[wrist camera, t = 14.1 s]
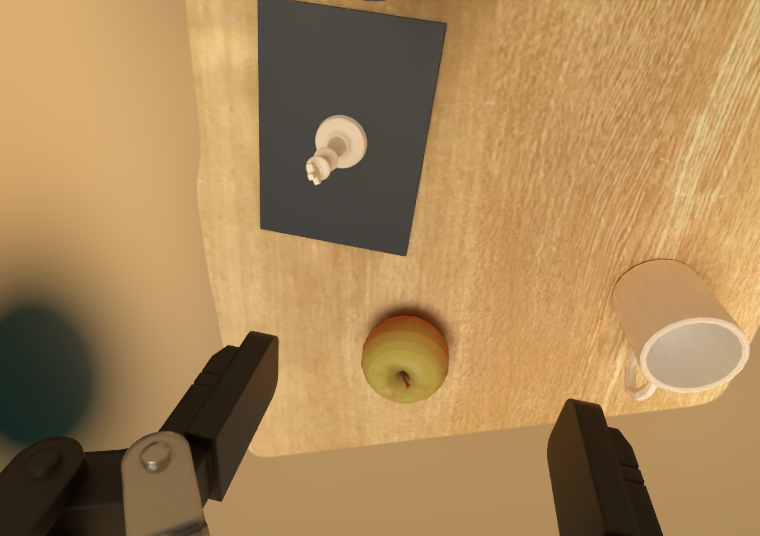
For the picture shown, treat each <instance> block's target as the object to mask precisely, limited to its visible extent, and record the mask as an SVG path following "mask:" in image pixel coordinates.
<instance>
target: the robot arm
mask: <svg viewBox="0 0 760 536" xmlns="http://www.w3.org/2000/svg"><path fill="white" fill-rule="evenodd" d="M278 346H279V341H278V337H277V336H274V335H269V334H265V333H260V332H255V331H250V332H249V333H248V335H247V336H246V338H245V339H244V341H243V342H242V344H241V345H240V347H235V346H230V345H228V346H226V347H225V348H223V349H222V350H220V351H219V352H217V353H216V354H214V355H213V356H212V357H211V358H210V360H209V361H208V363H207V364H206V366H205V367H204V368H203V370H202V373H200V374H199V375H198V377H197V378H196V380H195V381H194V384H193V385H191V387H190V388H189V390H188V391H187V392H186V394H185V395H184V396H183V398H182V399H181V401H180V402H179V404H178V405H177V406H176V408H175V409H174V410H173V412H172V413H171V415H170V416H169V418H168V419H167V420H166V422H165V423H164V425H163V426H162V427H161V428H160V430H159V431H158V432H155V433H152V434H149V435H146V436H144V437H142V438H140V439H139V440H137V441H136V442H135V443H133V444H132V445H131V446H130V447H129V448H127V449H121V450H110V451H96V452H83V449H82V446H81V445H80V443H79V442H77V441H76V440H74V439H72V438H69V437H52V438H47V439H43V440H41V441H38V442H36V443H34V444H32V445H30V446H29V447H27V448H25V449H24V450H22V451H21V452H20V453H18V455H16V457H14V459H13V460H12V461H11V462H10V463H9V464H8V465H7V466H6V467H5V469H4V470H3V471H2V472H1V473H0V536H210V534H209V529H208V526H207V523H206V521H205V517H204V513H203V508H204V505H205V504H206V502H207V500H208V499H212V500H216V501H220V502H221V501H222V500H223V498H224V496H225V494H226V491H227V489H228V487H229V485H230V483H231V481H232V479H233V477H234V475H235V473H236V471H237V469H238V467H239V465H240V463H241V461H242V459H243V457H244V455H245V453H246V451H247V449H248V447H249V445H250V443H251V441H252V438H253V436H254V434H255V432H256V430H257V428H258V426H259V424H260V422H261V420H262V418H263V416H264V414H265V412H266V410H267V408H268V406H269V404H270V402H271V400H272V398H273V395H274V392H275V389H276V386H277V381H278ZM547 458H548V459H547V460H548V466H549V472H550V478H551V484H552V491H553V497H554V503H555V509H556V515H557V521H558V528H559V534H560V536H663V534H662V531H661V528H660V525H659V522H658V520H657V517H656V514H655V511H654V508H653V505H652V503H651V500H650V497H649V494H648V491H647V488H646V486H644V480H643V477H642V474H641V471H640V470H639V469H638V467H639V466H638V463H637V460H636V457H635V454H634V451H633V449H632V447H631V445H630V444H629V443H628V441H627V440H626V439H625V438H624V436H623V435H622V433H621V432H620V431H619V430H618V429H616V428H611V427H608V426H607V423H606V420H605V417H604V413H603V410H602V408H601V406H600V405H599V404H595V403H590V402H585V401H580V400H575V399H568V400H567V401H566V403H565V405H564V407H563V409H562V411H561V413H560V415H559V417H558V419H557V422H556V424H555V426H554V428H553V430H552V433H551V434H550V438H549V441H548V448H547Z"/></svg>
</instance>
